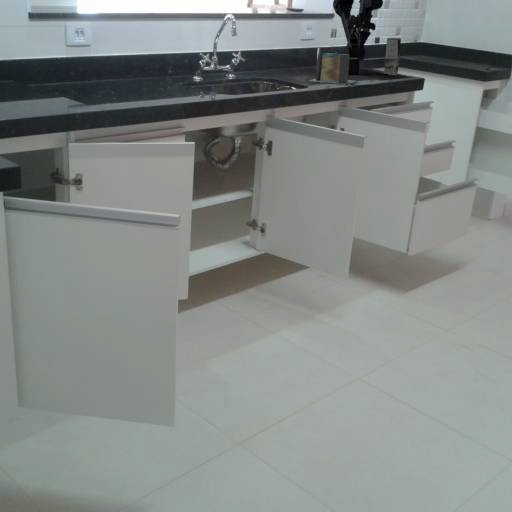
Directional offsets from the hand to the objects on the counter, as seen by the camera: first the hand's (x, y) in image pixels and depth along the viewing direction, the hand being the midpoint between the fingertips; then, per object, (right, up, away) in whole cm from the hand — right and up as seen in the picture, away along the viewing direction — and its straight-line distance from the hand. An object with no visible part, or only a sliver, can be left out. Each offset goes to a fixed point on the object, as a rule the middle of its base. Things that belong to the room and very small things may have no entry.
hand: (360, 48), depth 316 cm
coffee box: (+17, -6, +20) cm, 27 cm away
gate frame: (-14, -18, -12) cm, 26 cm away
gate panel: (-13, -17, -12) cm, 25 cm away
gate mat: (-13, -17, -9) cm, 23 cm away
